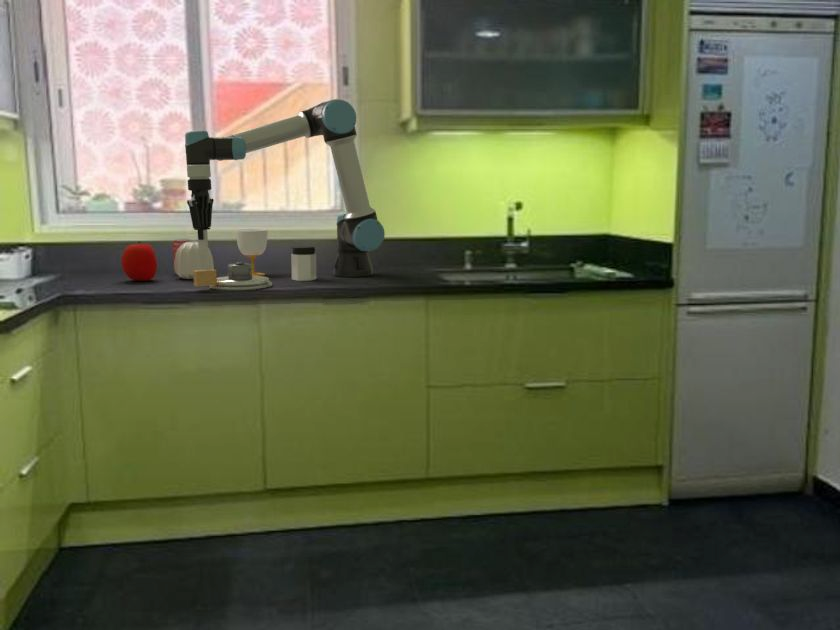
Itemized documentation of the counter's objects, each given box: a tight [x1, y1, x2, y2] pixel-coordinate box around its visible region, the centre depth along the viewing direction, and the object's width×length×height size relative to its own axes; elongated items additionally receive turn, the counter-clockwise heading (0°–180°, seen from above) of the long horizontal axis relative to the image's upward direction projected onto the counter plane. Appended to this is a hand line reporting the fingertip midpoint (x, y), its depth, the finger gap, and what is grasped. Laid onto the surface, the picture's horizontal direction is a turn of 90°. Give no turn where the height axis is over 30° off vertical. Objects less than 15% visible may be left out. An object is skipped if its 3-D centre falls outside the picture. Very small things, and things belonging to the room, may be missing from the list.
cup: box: [235, 228, 268, 277], centre depth 311 cm, size 12×12×17 cm
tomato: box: [120, 241, 158, 282], centre depth 294 cm, size 13×11×14 cm
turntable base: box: [209, 280, 273, 292], centre depth 282 cm, size 21×21×1 cm
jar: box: [290, 245, 317, 282], centre depth 299 cm, size 9×8×12 cm
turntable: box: [193, 269, 270, 288], centre depth 280 cm, size 26×19×5 cm
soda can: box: [172, 238, 192, 275], centre depth 315 cm, size 7×7×13 cm
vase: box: [173, 240, 215, 280], centre depth 302 cm, size 14×14×13 cm
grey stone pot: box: [227, 261, 252, 281], centre depth 282 cm, size 8×8×6 cm
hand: (203, 249), depth 277 cm, fingers closed
